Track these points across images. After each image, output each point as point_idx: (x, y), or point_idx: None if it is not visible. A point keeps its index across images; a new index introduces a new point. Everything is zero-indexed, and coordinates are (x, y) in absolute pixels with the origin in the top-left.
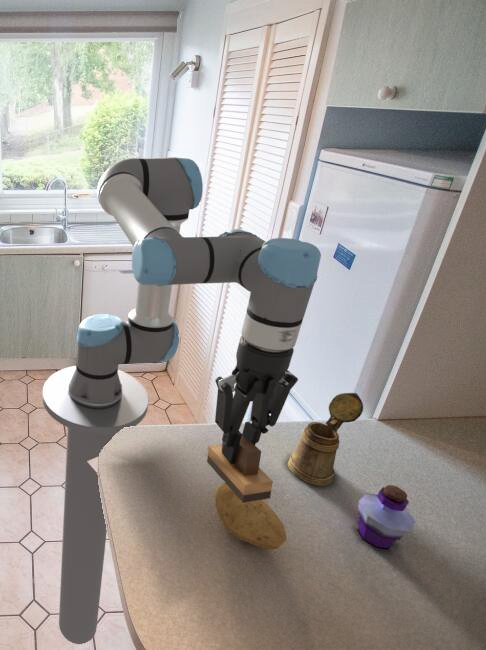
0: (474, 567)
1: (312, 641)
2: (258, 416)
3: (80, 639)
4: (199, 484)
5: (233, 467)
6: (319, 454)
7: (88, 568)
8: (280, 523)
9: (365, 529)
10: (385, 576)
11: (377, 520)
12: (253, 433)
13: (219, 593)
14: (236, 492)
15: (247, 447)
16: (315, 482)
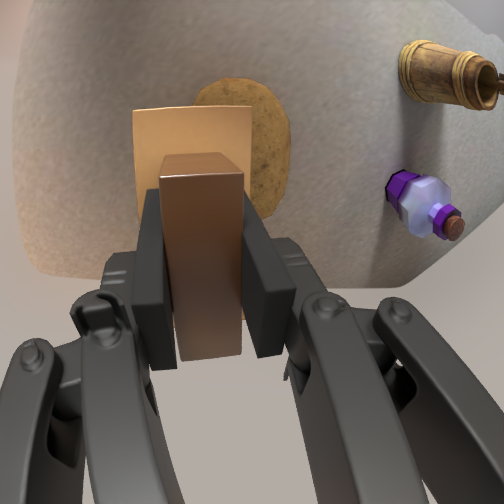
0: (435, 234)
1: None
2: (307, 430)
3: None
4: (212, 23)
5: None
6: (451, 96)
7: None
8: (275, 202)
9: (395, 196)
10: (362, 231)
11: (410, 220)
12: (255, 341)
13: (133, 231)
14: None
15: (198, 335)
16: (411, 95)
